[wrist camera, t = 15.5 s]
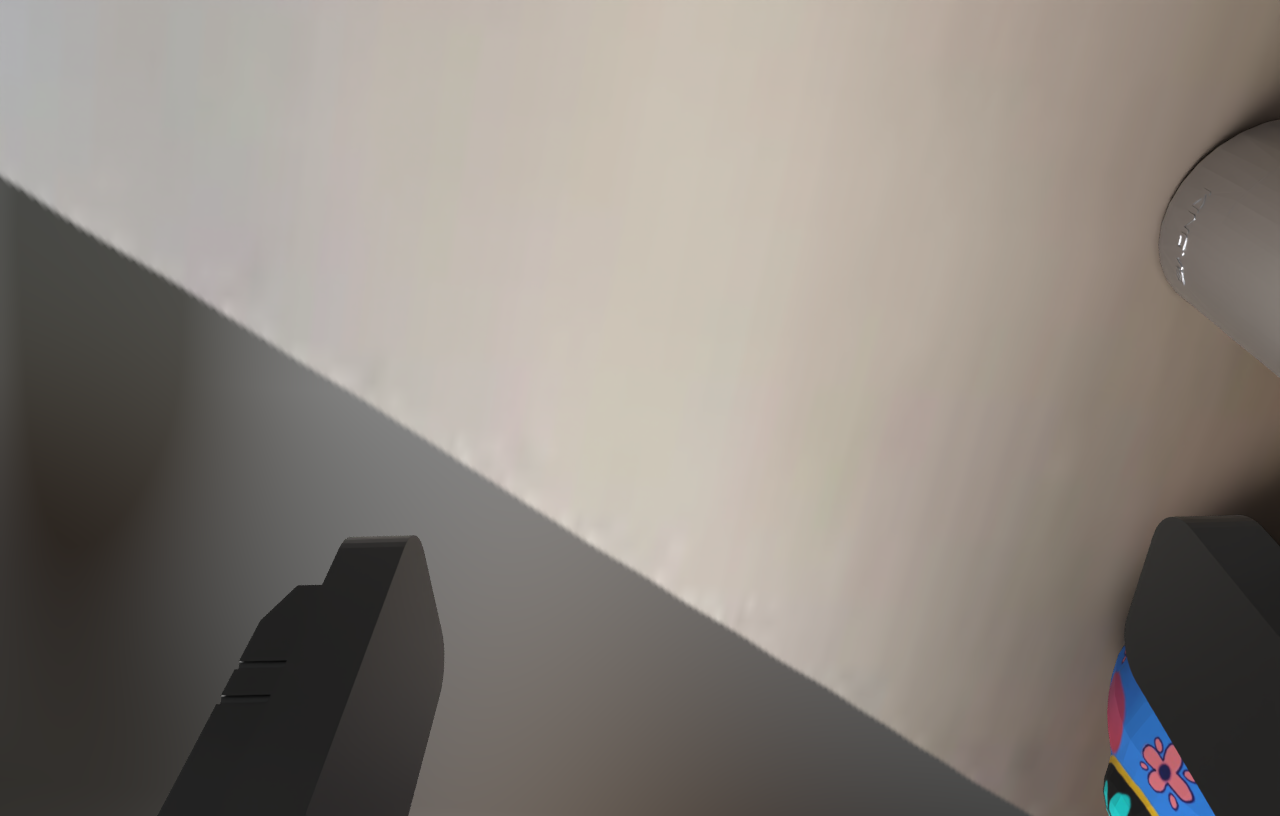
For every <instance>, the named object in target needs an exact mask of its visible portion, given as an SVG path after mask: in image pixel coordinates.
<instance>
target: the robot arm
mask: <svg viewBox="0 0 1280 816" xmlns="http://www.w3.org/2000/svg"><path fill="white" fill-rule="evenodd" d="M1159 255H1160V264H1161V266H1162V269H1163V272H1164V274H1165V277H1166V279H1167V281H1168V282H1169V283H1170V285H1171V286H1172V287H1173V289H1174V290H1175V291H1176V293H1178V294H1179V295H1180V296H1181V297H1182V298H1184V299H1185V300H1186V301H1187V302H1189V303H1190V304H1191V305H1192V306H1194V307H1195V308H1196V309H1197V310H1198V311H1200V312H1201V313H1202V314H1203V315H1205V316H1206V317H1207V318H1208V319H1209V320H1211V321H1212V322H1213V323H1214V324H1215V325H1217V326H1218V327H1219V328H1220V329H1221V330H1222V331H1223V332H1225V333H1226V334H1227V335H1228V336H1229V337H1231V338H1232V339H1233V340H1234V341H1236V342H1237V343H1238V344H1239V345H1240V346H1242V347H1243V348H1244V349H1245V350H1247V351H1248V352H1249V353H1250V354H1251V355H1253V356H1254V357H1255V358H1256V359H1258V360H1259V361H1260V362H1261V363H1263V364H1264V365H1265V366H1266V367H1267V368H1269V369H1270V370H1271V371H1272V372H1274V373H1275V374H1276V375H1277V376H1279V377H1280V119H1279V120H1275V121H1270V122H1266V123H1263V124H1260V125H1258V126H1256V127H1253V128H1251V129H1249V130H1246V131H1244V132H1241V133H1240V134H1238V135H1236V136H1235V137H1233V138H1231V139H1230V140H1228V141H1227V142H1225V143H1223V144H1222V145H1220V146H1219V147H1217V148H1216V149H1215V150H1214V151H1213V152H1211V153H1210V154H1209V155H1208V156H1207V157H1206V158H1204V159H1203V160H1202V161H1201V162H1200V163H1199V164H1198V165H1197V166H1196V167H1195V168H1194V169H1193V171H1192V172H1191V173H1190V174H1189V175H1188V176H1187V178H1186V179H1185V180H1184V181H1183V182H1182V183H1181V185H1180V187H1179V188H1178V190H1177V192H1176V193H1175V195H1174V197H1173V198H1172V200H1171V202H1170V203H1169V206H1168V209H1167V211H1166V214H1165V217H1164V219H1163V222H1162V225H1161V232H1160V238H1159ZM1124 640H1125V650H1126V656H1127V660H1128V664H1129V667H1130V670H1131V672H1132V675H1133V677H1134V679H1135V681H1136V683H1137V684H1138V686H1139V688H1140V689H1141V691H1142V693H1143V694H1144V696H1145V698H1146V700H1147V701H1148V703H1149V705H1150V706H1151V708H1152V710H1153V711H1154V713H1155V715H1156V716H1157V718H1158V720H1159V722H1160V723H1161V725H1162V727H1163V728H1164V730H1165V732H1166V733H1167V735H1168V737H1169V738H1170V740H1171V742H1172V744H1173V745H1174V747H1175V749H1176V750H1177V752H1178V754H1179V755H1180V757H1181V759H1182V760H1183V762H1184V764H1185V766H1186V767H1187V769H1188V771H1189V772H1190V774H1191V776H1192V777H1193V779H1194V781H1195V782H1196V784H1197V786H1198V787H1199V789H1200V791H1201V793H1202V794H1203V796H1204V798H1205V799H1206V801H1207V803H1208V804H1209V806H1210V808H1211V809H1212V811H1213V813H1214V815H1215V816H1280V546H1279V545H1278V544H1277V543H1276V542H1275V541H1274V539H1273V538H1272V537H1271V536H1270V535H1269V534H1268V533H1267V532H1266V531H1265V530H1264V529H1263V528H1262V526H1261V525H1259V524H1258V523H1257V522H1256V521H1255V520H1253V519H1252V518H1250V517H1247V516H1244V515H1225V516H1188V517H1169V518H1166V519H1164V520H1162V521H1161V523H1160V524H1159V525H1158V526H1157V528H1156V530H1155V532H1154V535H1153V538H1152V541H1151V544H1150V547H1149V550H1148V554H1147V557H1146V560H1145V563H1144V566H1143V569H1142V572H1141V575H1140V578H1139V582H1138V585H1137V588H1136V591H1135V594H1134V597H1133V600H1132V603H1131V606H1130V610H1129V613H1128V616H1127V619H1126V623H1125V633H1124ZM443 672H444V643H443V635H442V630H441V625H440V621H439V617H438V612H437V608H436V603H435V599H434V595H433V591H432V586H431V581H430V576H429V572H428V568H427V563H426V558H425V554H424V550H423V547H422V544H421V541H420V540H419V538H418V537H417V536H414V535H412V536H411V535H410V536H377V537H374V536H373V537H349V538H347V539H345V540H344V542H343V543H342V544H341V546H340V548H339V550H338V552H337V554H336V556H335V559H334V561H333V563H332V565H331V567H330V569H329V571H328V574H327V576H326V578H325V580H324V582H323V584H322V585H305V586H304V585H302V586H301V585H299V586H297V587H296V588H294V589H293V590H292V591H291V592H290V593H289V594H288V595H287V596H286V597H285V598H284V599H283V600H282V601H281V602H280V603H279V604H277V605H276V606H275V607H274V608H273V609H272V610H271V611H270V612H269V613H268V614H267V615H266V616H265V617H264V618H263V619H262V620H261V621H260V622H259V624H258V626H257V628H256V630H255V632H254V634H253V636H252V638H251V639H250V641H249V643H248V645H247V647H246V649H245V651H244V653H243V655H242V657H241V658H240V661H239V669H236V670H234V672H233V674H232V676H231V678H230V679H229V681H228V683H227V685H226V687H225V689H224V691H223V693H222V695H221V703H220V704H216V706H215V708H214V710H213V712H212V714H211V716H210V718H209V719H208V721H207V723H206V725H205V727H204V729H203V731H202V732H201V734H200V736H199V738H198V740H197V742H196V744H195V746H194V748H193V750H192V752H191V754H190V755H189V757H188V759H187V761H186V763H185V765H184V767H183V769H182V770H181V772H180V775H179V776H178V778H177V780H176V782H175V784H174V786H173V788H172V789H171V791H170V793H169V795H168V797H167V799H166V801H165V803H164V805H163V807H162V808H161V810H160V812H159V814H158V816H408V814H409V811H410V807H411V803H412V799H413V795H414V791H415V788H416V784H417V779H418V776H419V772H420V769H421V764H422V761H423V757H424V753H425V749H426V746H427V742H428V738H429V734H430V730H431V727H432V723H433V719H434V715H435V711H436V707H437V704H438V700H439V696H440V692H441V687H442V680H443Z"/></svg>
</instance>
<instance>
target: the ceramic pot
mask: <svg viewBox="0 0 1280 816" xmlns="http://www.w3.org/2000/svg"><path fill="white" fill-rule="evenodd" d="M1107 714H1108V732H1109V739H1110V746H1111V757H1110V762H1109V765H1108V768H1107V771H1106V774H1105V778H1104V789H1103V793H1104V798H1105V804H1106V809H1107V811H1108V813H1109V815H1110V816H1215V815H1214V813H1213V811H1212V809H1211V808H1210V806H1209V804H1208V803H1207V801H1206V799H1205V798H1204V796H1203V794H1202V793H1201V791H1200V789H1199V787H1198V786H1197V784H1196V782H1195V781H1194V779H1193V777H1192V776H1191V774H1190V772H1189V771H1188V769H1187V767H1186V766H1185V764H1184V762H1183V760H1182V759H1181V757H1180V755H1179V754H1178V752H1177V750H1176V749H1175V747H1174V745H1173V744H1172V742H1171V740H1170V738H1169V737H1168V735H1167V733H1166V732H1165V730H1164V728H1163V727H1162V725H1161V723H1160V722H1159V720H1158V718H1157V716H1156V715H1155V713H1154V711H1153V710H1152V708H1151V706H1150V705H1149V703H1148V701H1147V700H1146V698H1145V696H1144V694H1143V693H1142V691H1141V689H1140V688H1139V686H1138V684H1137V683H1136V681H1135V679H1134V677H1133V675H1132V672H1131V670H1130V667H1129V664H1128V660H1127V656H1126V650H1125V646H1124V647H1123V648H1122V650H1121V651H1120V653H1119V655H1118V658H1117V661H1116V664H1115V667H1114V671H1113V674H1112V678H1111V684H1110V690H1109V698H1108V711H1107Z"/></svg>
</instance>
